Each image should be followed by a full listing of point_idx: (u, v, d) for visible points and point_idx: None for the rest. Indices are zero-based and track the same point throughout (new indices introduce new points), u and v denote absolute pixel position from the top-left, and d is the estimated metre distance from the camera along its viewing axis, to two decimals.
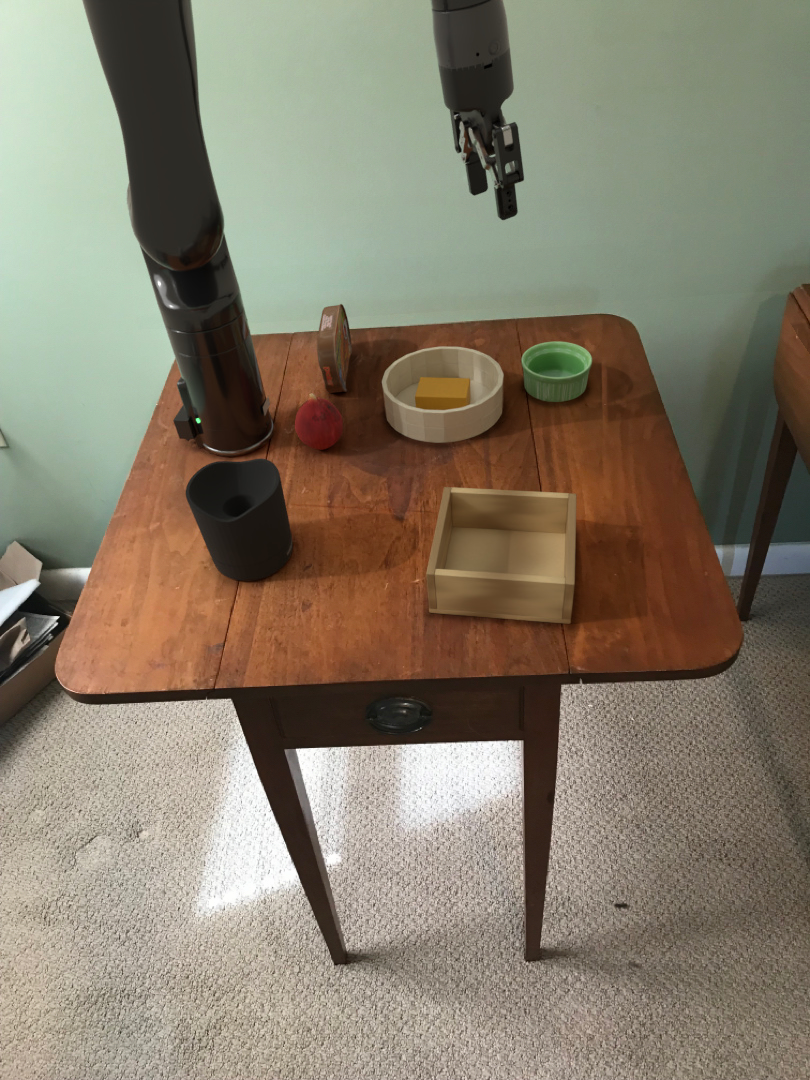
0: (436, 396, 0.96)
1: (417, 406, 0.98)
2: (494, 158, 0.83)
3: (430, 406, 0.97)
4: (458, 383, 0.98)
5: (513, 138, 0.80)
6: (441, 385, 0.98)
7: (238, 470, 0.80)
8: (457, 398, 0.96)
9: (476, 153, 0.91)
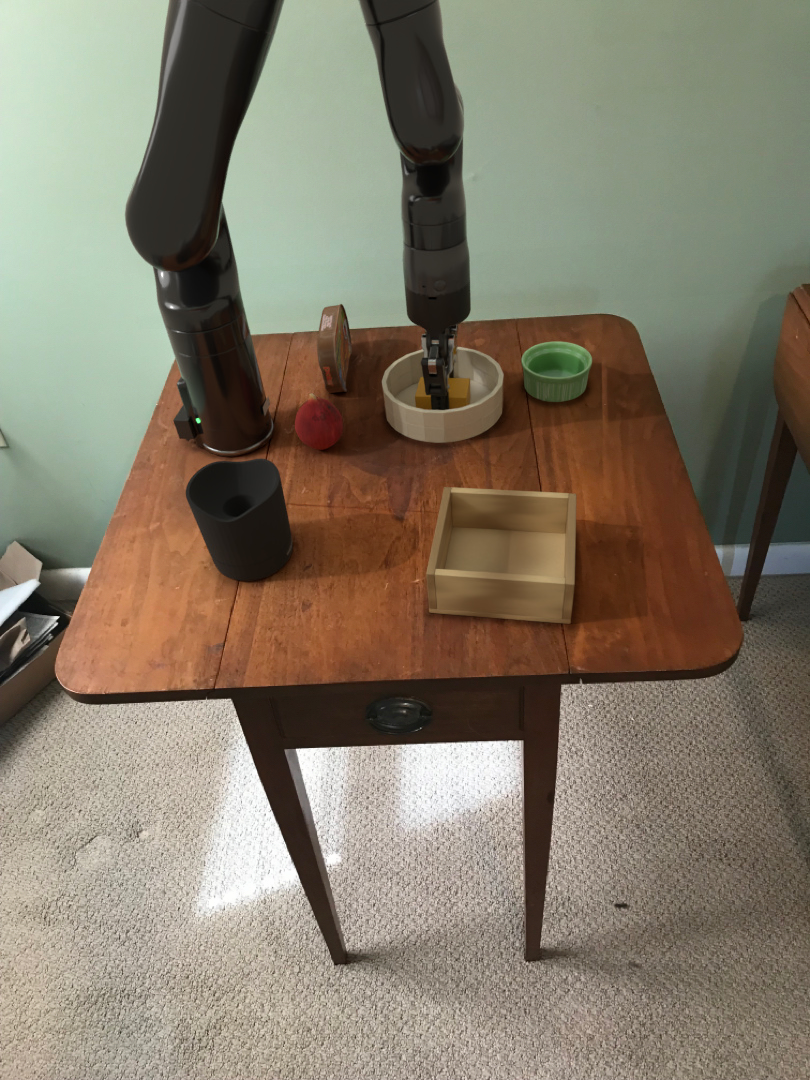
0: None
1: (417, 406, 0.98)
2: None
3: (430, 406, 0.97)
4: (457, 383, 0.98)
5: (437, 371, 0.88)
6: None
7: (238, 470, 0.80)
8: (457, 398, 0.96)
9: (447, 361, 0.98)
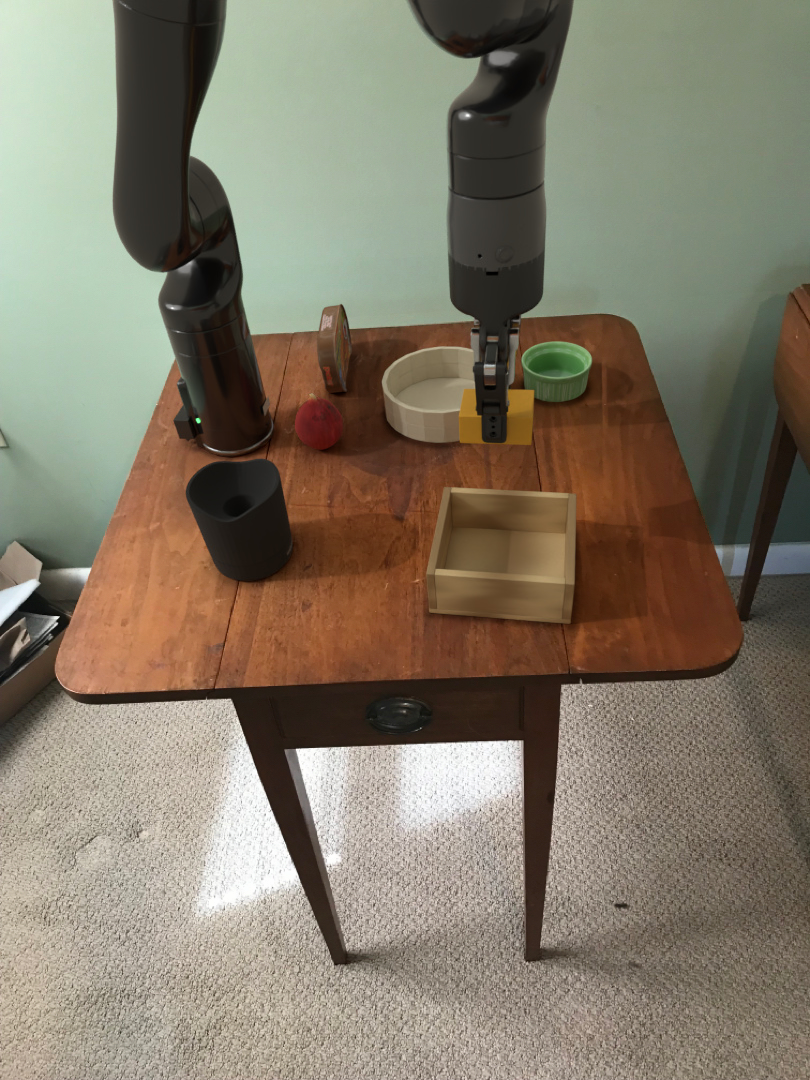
0: None
1: (461, 430, 0.69)
2: None
3: (480, 430, 0.69)
4: (518, 397, 0.70)
5: (497, 381, 0.60)
6: None
7: (238, 470, 0.80)
8: (519, 419, 0.68)
9: None
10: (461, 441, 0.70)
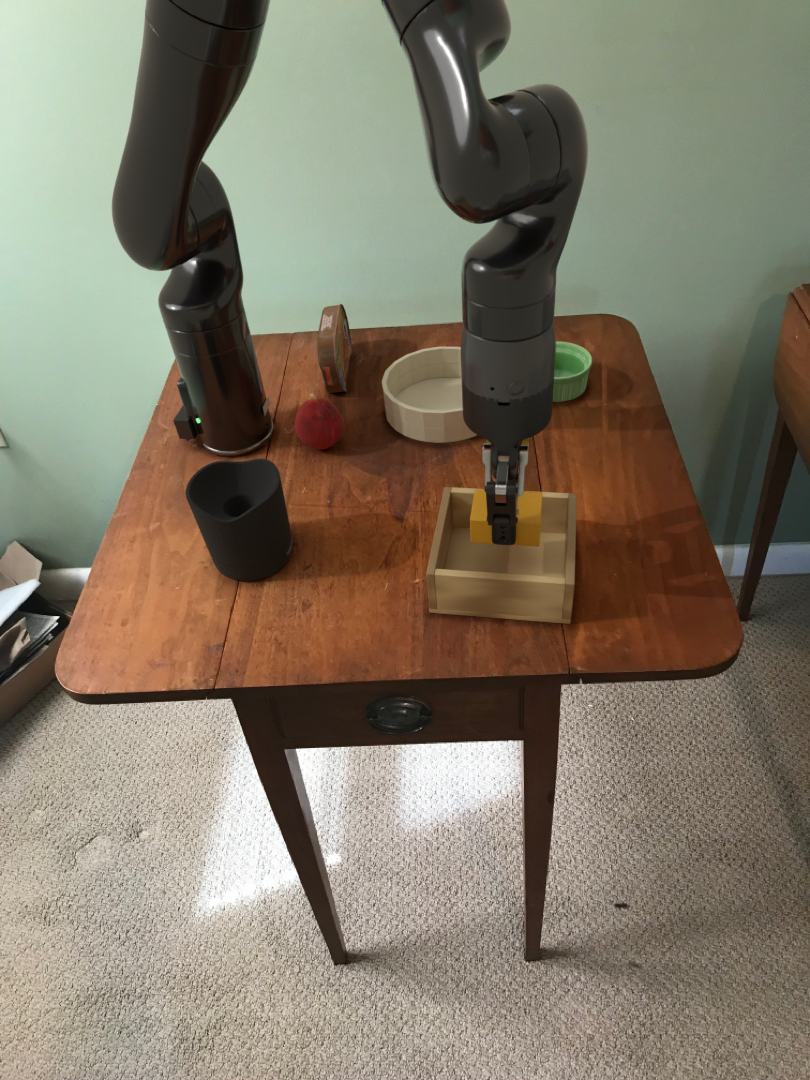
0: None
1: (472, 531, 0.73)
2: None
3: (490, 532, 0.72)
4: (526, 499, 0.73)
5: (507, 500, 0.63)
6: None
7: (238, 470, 0.80)
8: (528, 524, 0.71)
9: None
10: (472, 541, 0.73)
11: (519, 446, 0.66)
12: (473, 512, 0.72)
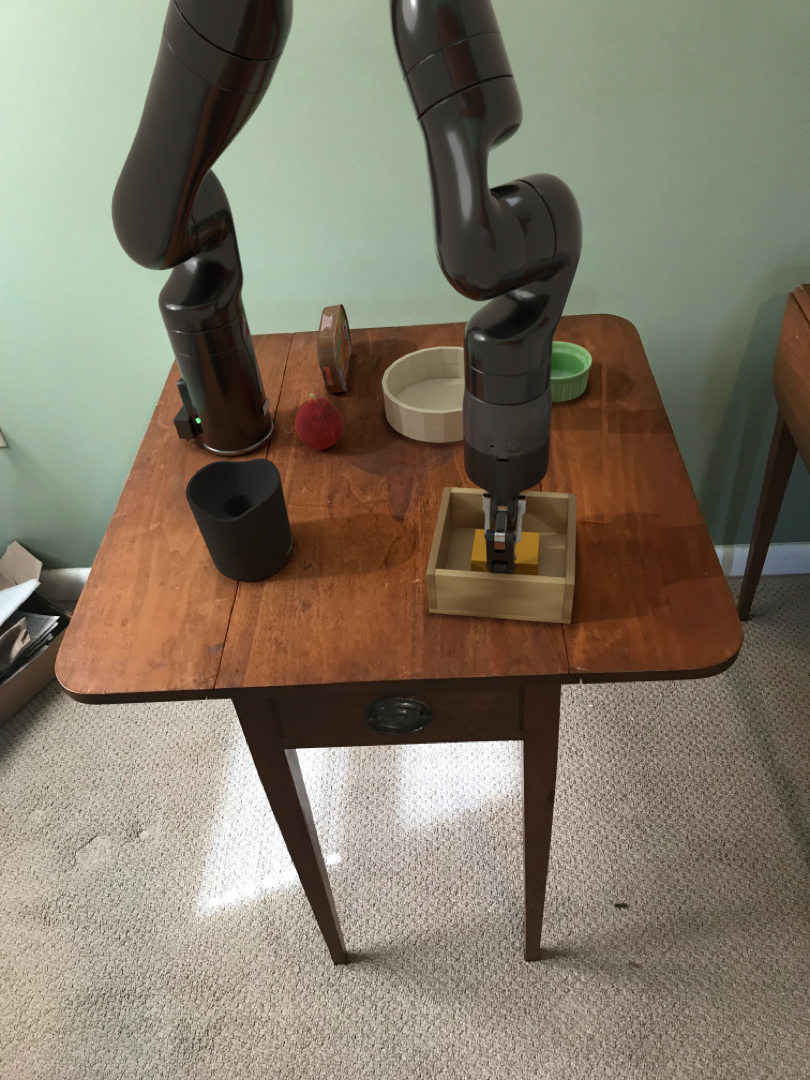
0: None
1: (473, 570, 0.76)
2: None
3: None
4: (525, 540, 0.77)
5: (506, 547, 0.67)
6: None
7: (238, 470, 0.80)
8: (526, 564, 0.74)
9: None
10: None
11: (517, 496, 0.69)
12: (474, 552, 0.76)
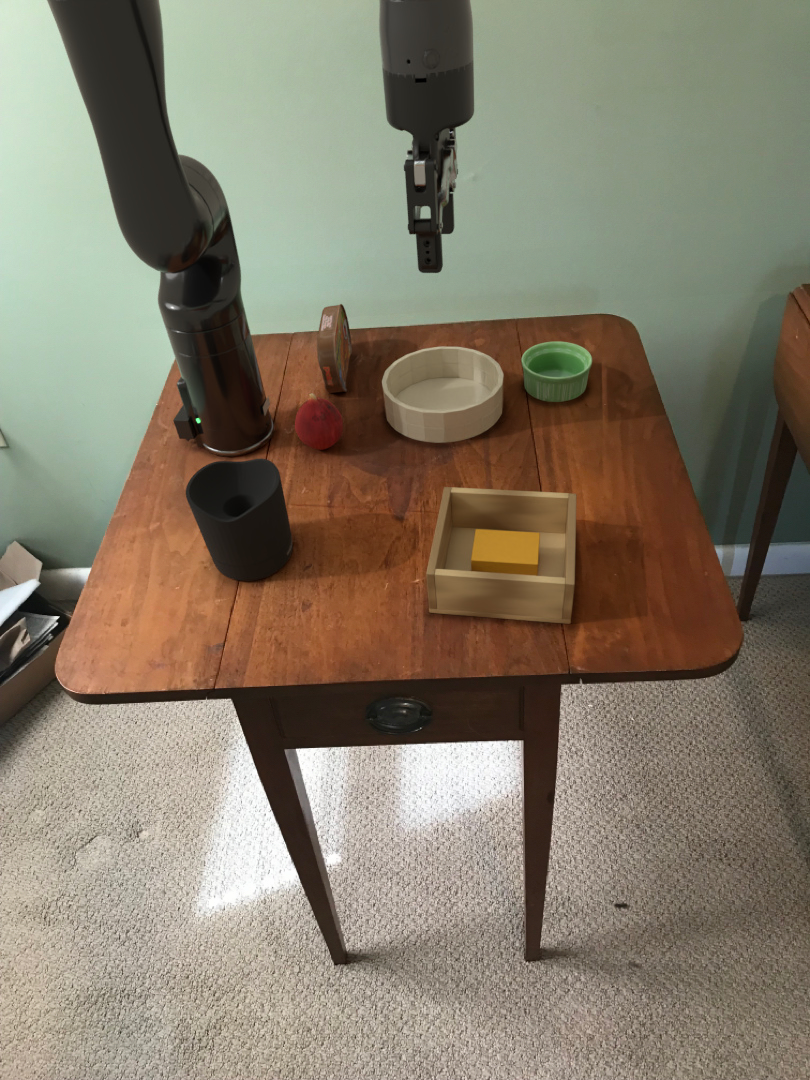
0: (498, 560, 0.75)
1: (473, 570, 0.76)
2: None
3: (490, 571, 0.76)
4: (525, 540, 0.77)
5: (426, 178, 0.63)
6: (504, 543, 0.77)
7: (238, 470, 0.80)
8: (526, 564, 0.74)
9: None
10: None
11: (442, 149, 0.66)
12: (474, 552, 0.76)
